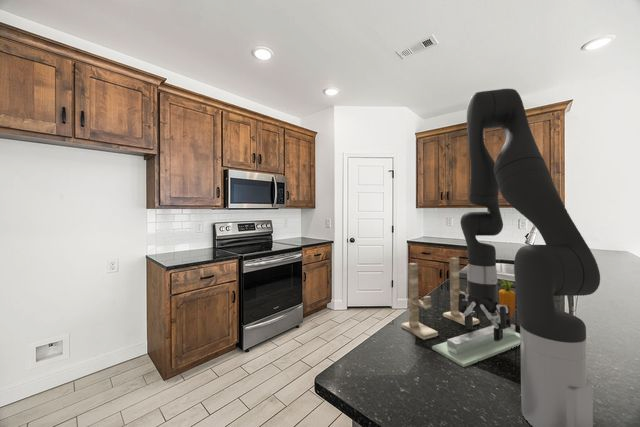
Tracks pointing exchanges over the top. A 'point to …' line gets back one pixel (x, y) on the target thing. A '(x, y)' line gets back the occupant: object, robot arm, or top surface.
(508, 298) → the carrot
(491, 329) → the rail
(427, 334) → the hook stands
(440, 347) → the mat
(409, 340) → the top surface
